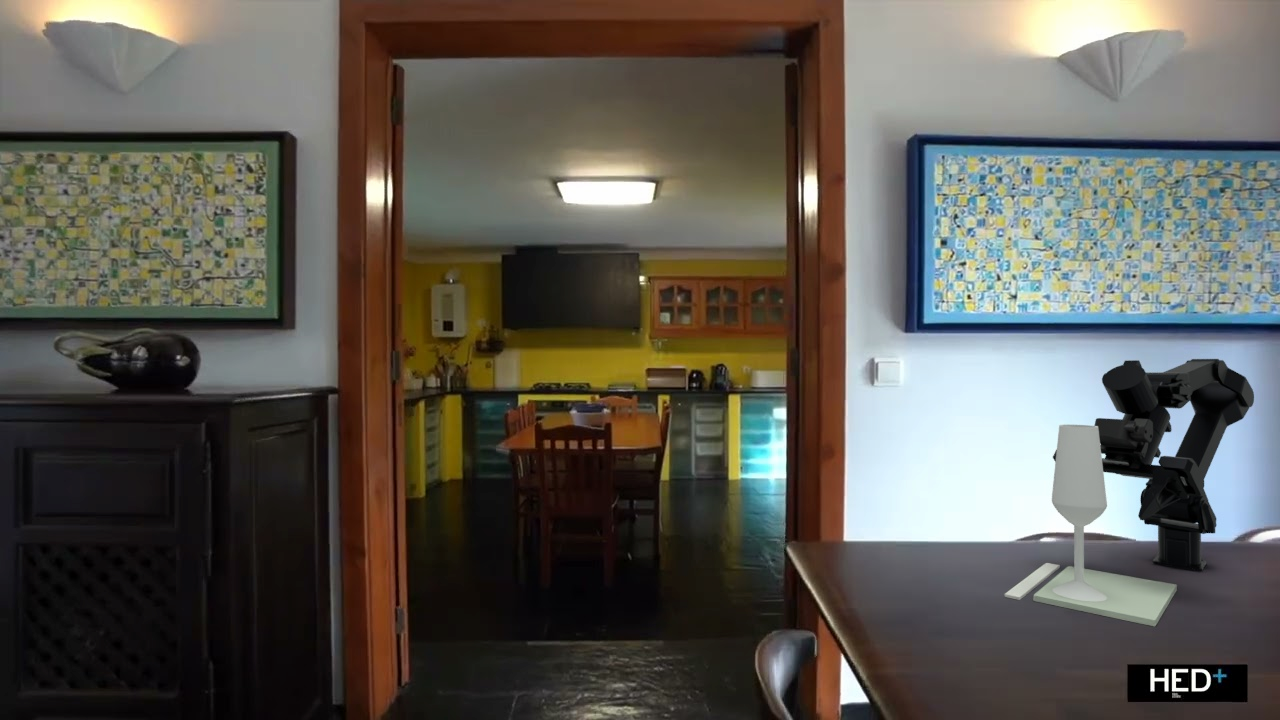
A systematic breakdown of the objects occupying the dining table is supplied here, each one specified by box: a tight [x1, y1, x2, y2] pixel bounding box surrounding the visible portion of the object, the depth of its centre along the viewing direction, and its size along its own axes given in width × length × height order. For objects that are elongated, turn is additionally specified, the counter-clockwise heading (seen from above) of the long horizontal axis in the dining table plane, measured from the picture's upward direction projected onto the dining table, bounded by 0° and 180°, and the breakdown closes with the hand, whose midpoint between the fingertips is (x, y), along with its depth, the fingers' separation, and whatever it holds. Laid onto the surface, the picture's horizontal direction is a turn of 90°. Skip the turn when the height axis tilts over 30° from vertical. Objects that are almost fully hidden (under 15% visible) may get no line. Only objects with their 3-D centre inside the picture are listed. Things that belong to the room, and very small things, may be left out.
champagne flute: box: [1051, 424, 1108, 602], centre depth 99 cm, size 7×7×24 cm
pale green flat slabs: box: [1003, 562, 1178, 628], centre depth 102 cm, size 22×18×1 cm
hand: (1105, 512), depth 103 cm, fingers open, 9 cm apart
